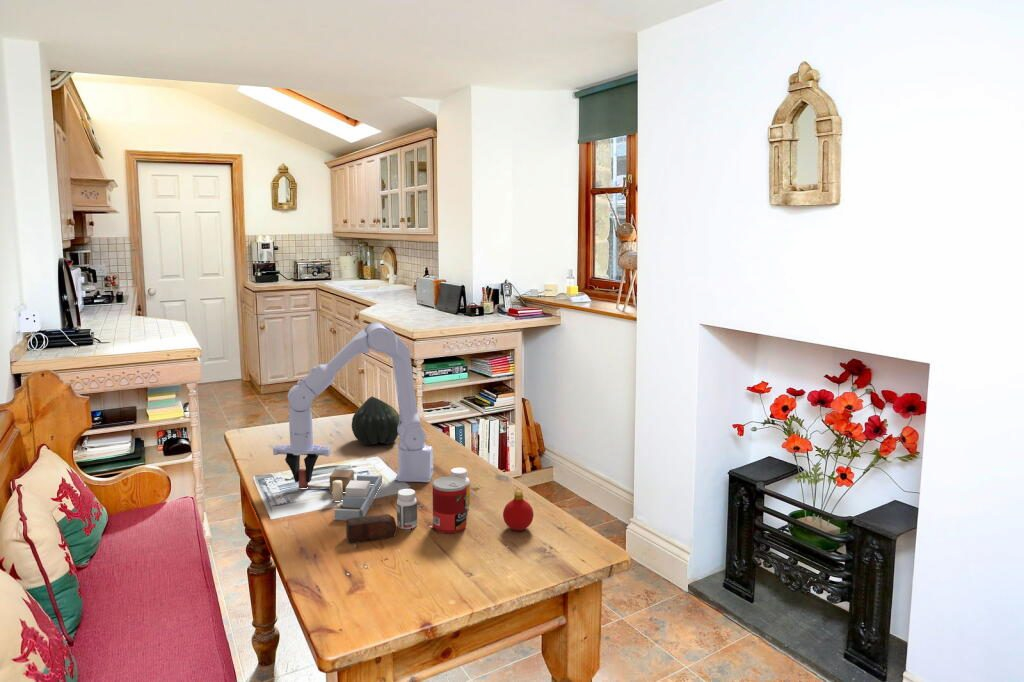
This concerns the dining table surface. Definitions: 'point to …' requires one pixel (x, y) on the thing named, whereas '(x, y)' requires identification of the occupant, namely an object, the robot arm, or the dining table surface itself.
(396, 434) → the squash
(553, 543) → the dining table surface
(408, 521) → the pill bottle
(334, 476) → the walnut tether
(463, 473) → the supplement bottle
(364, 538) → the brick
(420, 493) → the dining table surface
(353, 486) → the white block with peg
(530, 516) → the christmas ornament
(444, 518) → the canned food
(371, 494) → the lane rack
